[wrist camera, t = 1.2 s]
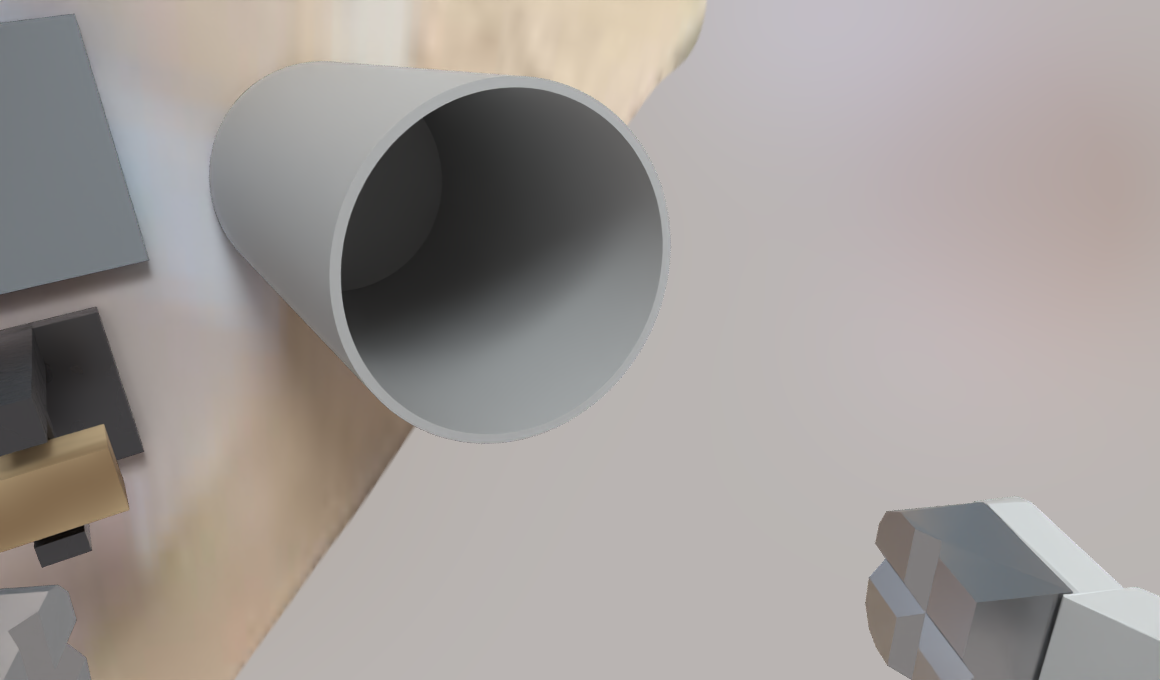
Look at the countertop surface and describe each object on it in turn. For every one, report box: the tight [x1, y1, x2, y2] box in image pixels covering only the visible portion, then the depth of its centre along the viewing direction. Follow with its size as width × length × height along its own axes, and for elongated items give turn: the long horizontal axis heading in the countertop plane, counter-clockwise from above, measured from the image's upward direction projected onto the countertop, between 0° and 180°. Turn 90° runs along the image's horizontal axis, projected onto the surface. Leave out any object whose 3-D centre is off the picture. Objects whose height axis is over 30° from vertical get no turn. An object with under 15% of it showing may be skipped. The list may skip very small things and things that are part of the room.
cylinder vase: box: [209, 61, 671, 444], centre depth 42 cm, size 12×12×25 cm
